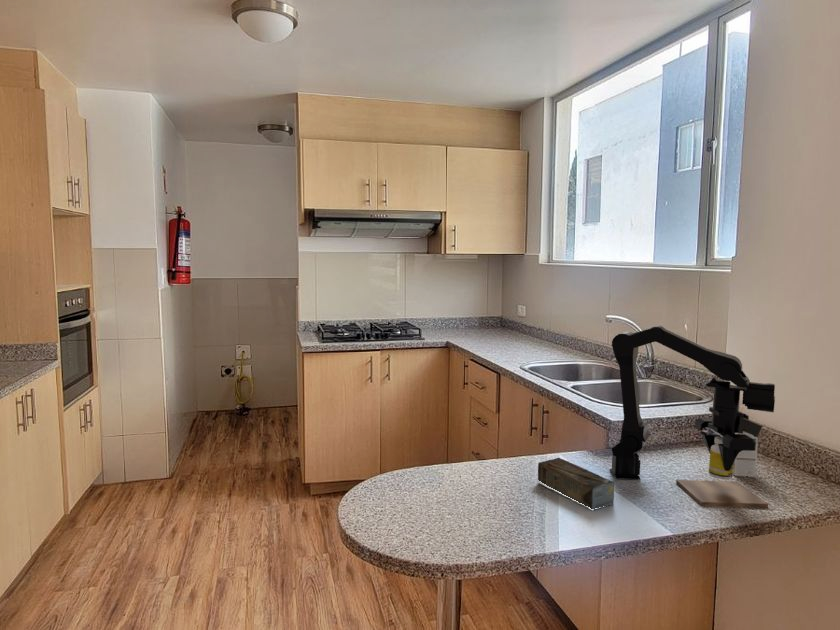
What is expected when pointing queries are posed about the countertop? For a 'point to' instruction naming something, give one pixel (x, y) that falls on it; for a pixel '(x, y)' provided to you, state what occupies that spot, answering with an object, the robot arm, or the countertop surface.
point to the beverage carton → (576, 483)
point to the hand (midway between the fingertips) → (721, 466)
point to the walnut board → (721, 493)
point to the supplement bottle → (718, 462)
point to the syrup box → (746, 461)
